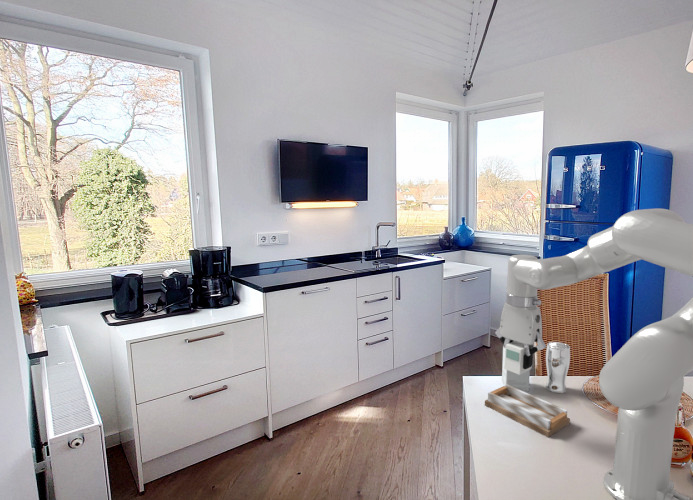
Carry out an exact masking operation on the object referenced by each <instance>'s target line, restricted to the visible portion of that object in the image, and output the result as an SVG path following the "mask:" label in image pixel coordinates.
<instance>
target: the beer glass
mask: <svg viewBox="0 0 693 500" xmlns="http://www.w3.org/2000/svg"><path fill="white" fill-rule="evenodd" d="M570 362H571V346H570V345H569V344H567V343H563V342H559V341H549V342H547V343H546V350H545V366H546V372H547V373H546V374H547V380H546V384H545V389H546V390H548V391H549V392H552V393H554V394H565V393H566V392H567V384H566V379H567V375H568V371H569V367H570Z"/></svg>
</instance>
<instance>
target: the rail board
mask: <svg viewBox="0 0 693 500" xmlns="http://www.w3.org/2000/svg"><path fill="white" fill-rule="evenodd" d="M484 406H485V407H488V408H489V409H492V410H493V411H495V412H497V413H499V414H501V415H503V416H505V417H507V418H509V419H511V420H513V421H515V422H517V423H519V424H521V425H523V426H524V427H527V428H528V429H530V430H533V431H535V432H537V433H538V434H541V435H543V436H544V437H546V438H550V437H551V436H553V435H554V434H556V433H557V432H559V431H560V430H562V429H563V428H565V427H567V426H568V425H570V423H571V418H569V417H568V409H566V408H562V407H560V406H558V405H556V404H553V403H551V402H549V401H547V400H544V399H541V398H540V397H538V396H535V395H532V394H530V393H528V392H524V391H521V390H519V389H517V388H514V387H512V386H510V385H505V387H504V385H502V386H501V387H499V388H497V389H494V390H492V391H489V392H488V393H487V399H485V400H484Z"/></svg>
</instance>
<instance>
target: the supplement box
mask: <svg viewBox="0 0 693 500" xmlns="http://www.w3.org/2000/svg"><path fill="white" fill-rule="evenodd" d="M501 363H502V369H501V370H502V373H501V381H502V384H503V386H504V387H505V385H510V386H512V387H514V388H517V389H519V390H521V391H524V392H526V393H528V392H530V376H531V375H530V374H531V369H530V370H528V371H526V372H524V373H522V374H520V375H519V374H516V373H514V372H511V371H508V370H506V369H504V366H505V348H504V345H503V346H502V362H501Z"/></svg>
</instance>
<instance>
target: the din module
mask: <svg viewBox="0 0 693 500" xmlns="http://www.w3.org/2000/svg"><path fill="white" fill-rule="evenodd" d="M525 354H526V353H525V347H524V344H523V343H519V342H516V341H514V342H511V343H509V344H506V345H505V366H504V369H506V370H508V371H511V372H514V373H516V374H519V375H520V374H522V373H524V372H526V371H528V370H530V371H531V370H532V368H533V365H532V366H531V367H530V368H528V369H523V358H524V355H525Z"/></svg>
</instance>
